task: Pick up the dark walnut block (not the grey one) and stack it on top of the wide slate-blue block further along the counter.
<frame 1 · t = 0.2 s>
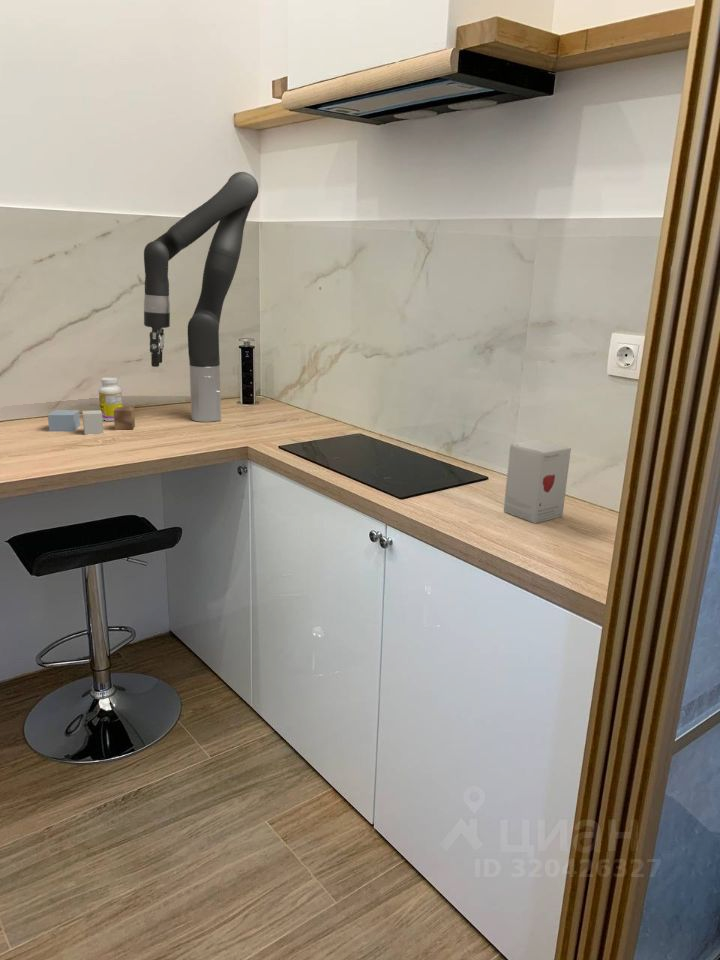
hand: (157, 364, 222), 17 cm above the worktop, tool pointing down, fingers open, 8 cm apart
grey block: (93, 432, 209), on the worktop
base block: (65, 429, 212), on the worktop
walnut block: (125, 428, 215), on the worktop
supplement bottle: (112, 420, 226), on the worktop
supplement box: (533, 515, 152), on the worktop
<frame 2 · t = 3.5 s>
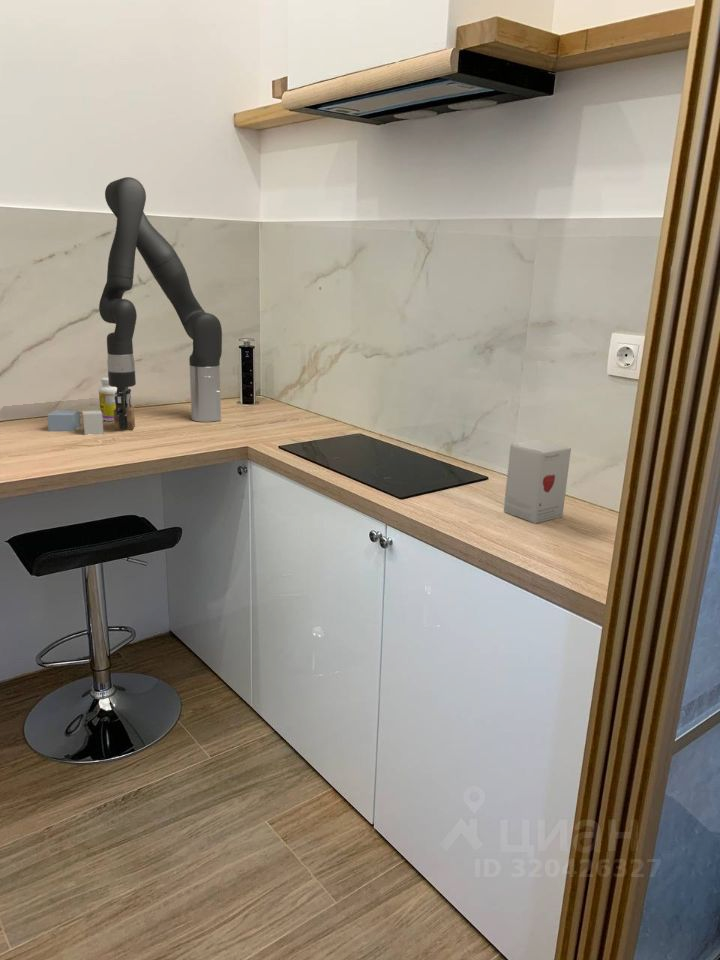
hand: (125, 426, 215), 1 cm above the worktop, tool pointing down, fingers closed on walnut block, 5 cm apart
walnut block: (125, 428, 215), on the worktop, touching gripper
everything else where it was.
when the fingers open (7 cm above the worktop, at t = 8.9 s): walnut block drops 1 cm, resting on base block.
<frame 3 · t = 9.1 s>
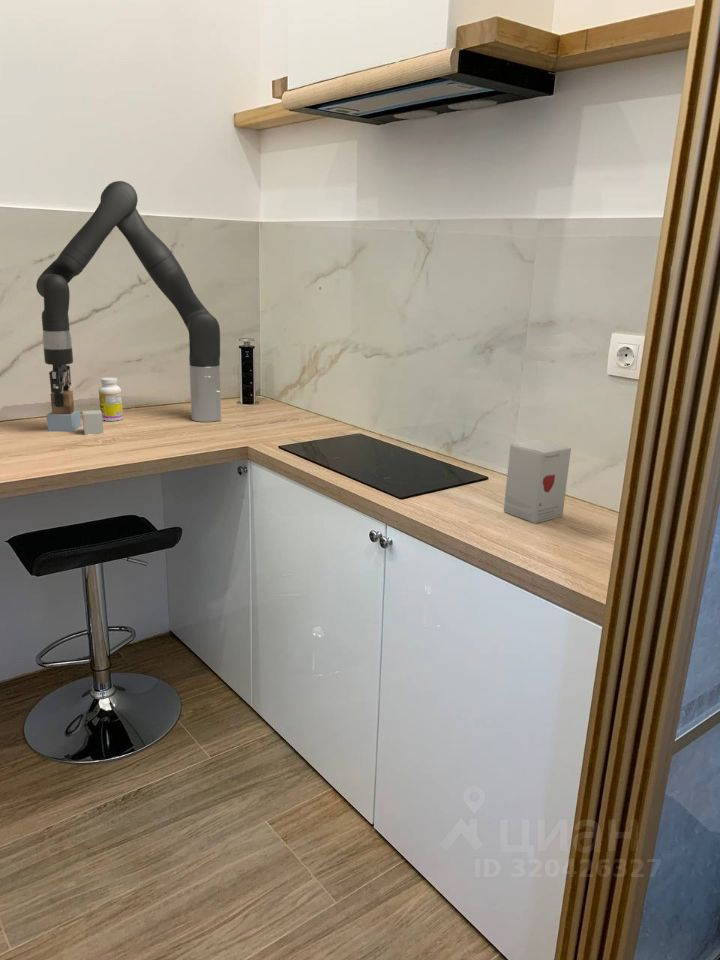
hand: (62, 404, 210), 7 cm above the worktop, tool pointing down, fingers open, 7 cm apart
base block: (65, 429, 212), on the worktop, touching walnut block
walnut block: (63, 412, 211), point 5 cm above the worktop, touching base block
everything else where it was.
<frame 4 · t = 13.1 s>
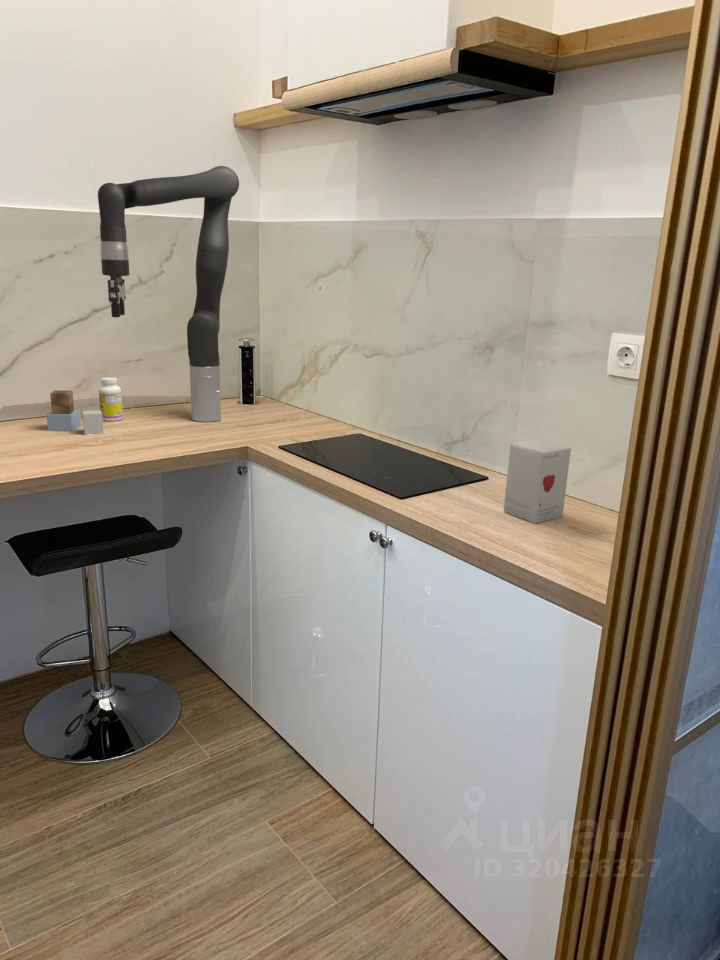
hand: (118, 316, 212), 32 cm above the worktop, tool pointing down, fingers open, 8 cm apart
base block: (65, 429, 212), on the worktop
walnut block: (63, 412, 211), point 5 cm above the worktop
everything else where it was.
at the end: walnut block 0.1 cm off-centre on the base block, point 5.0 cm above the base block's base; walnut block tilted 0°; the gripper is holding nothing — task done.
